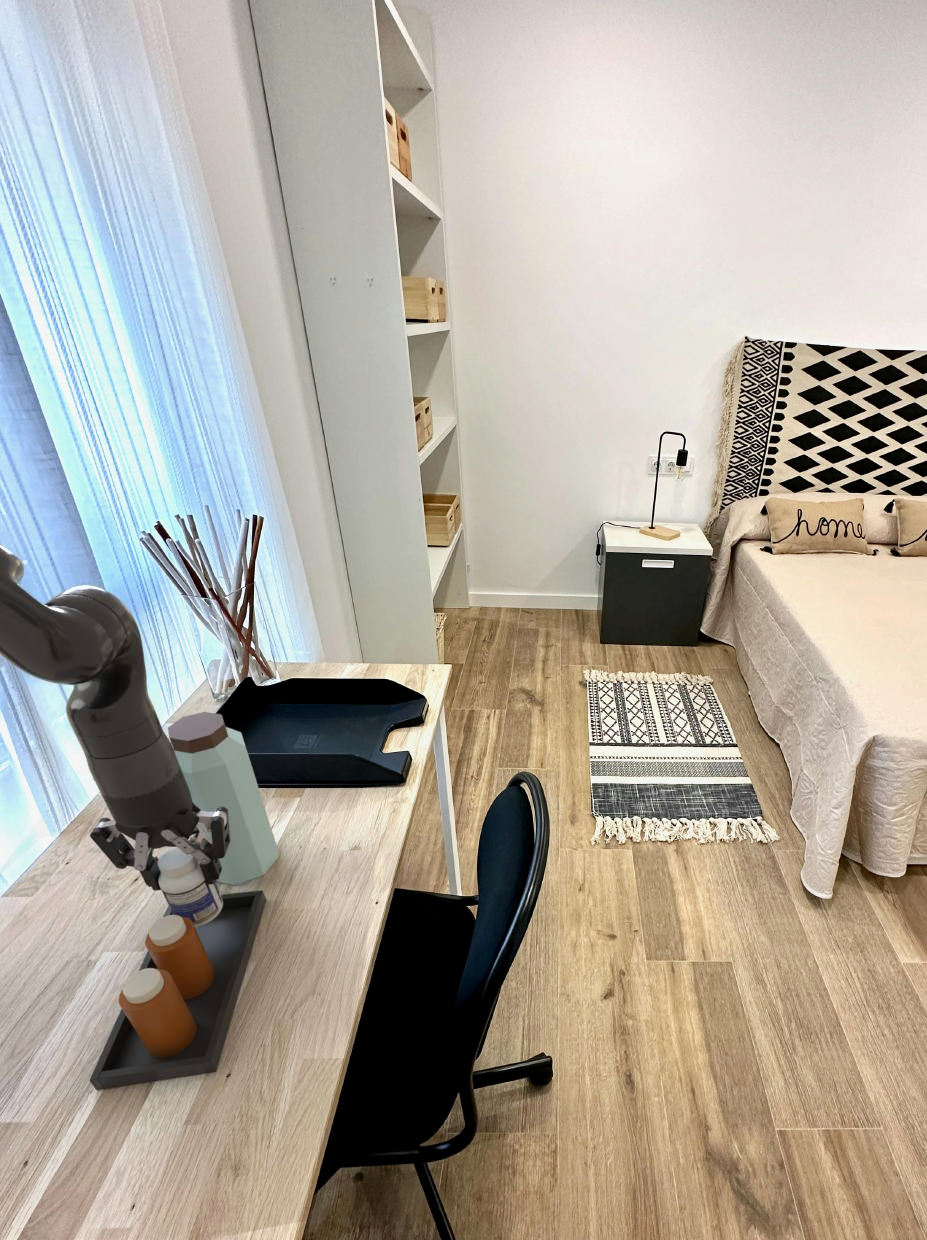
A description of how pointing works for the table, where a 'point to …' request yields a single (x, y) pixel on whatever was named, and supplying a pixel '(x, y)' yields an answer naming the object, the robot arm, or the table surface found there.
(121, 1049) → the tray
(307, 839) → the table surface
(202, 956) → the amber bottle mid
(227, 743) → the water bottle
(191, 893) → the pill bottle
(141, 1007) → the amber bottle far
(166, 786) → the robot arm
